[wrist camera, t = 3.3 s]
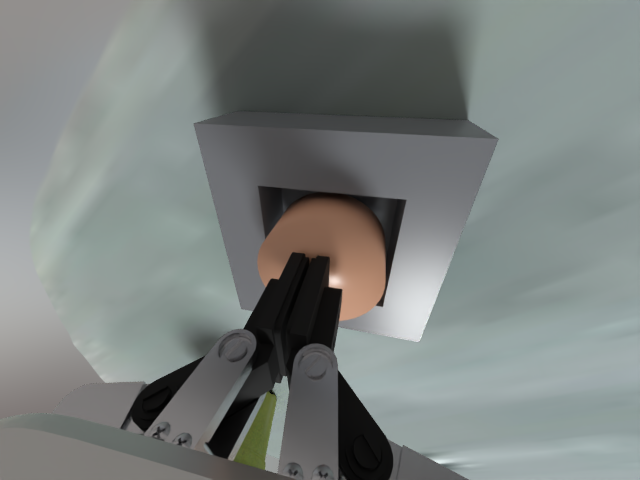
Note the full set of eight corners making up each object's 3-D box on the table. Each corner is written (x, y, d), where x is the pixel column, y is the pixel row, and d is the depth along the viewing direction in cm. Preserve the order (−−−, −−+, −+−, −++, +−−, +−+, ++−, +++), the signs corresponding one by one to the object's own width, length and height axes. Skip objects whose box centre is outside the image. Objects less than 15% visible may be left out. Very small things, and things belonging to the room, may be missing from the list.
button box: (468, 120, 12) (498, 138, 9) (413, 295, 19) (419, 342, 16) (237, 110, 14) (193, 123, 11) (263, 271, 21) (241, 308, 18)
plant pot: (292, 387, 31) (265, 478, 24) (286, 415, 37) (263, 496, 30) (222, 365, 32) (177, 447, 25) (227, 396, 38) (191, 471, 31)
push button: (394, 197, 12) (396, 230, 9) (377, 288, 15) (375, 330, 13) (274, 186, 13) (248, 213, 10) (283, 274, 16) (265, 310, 14)
